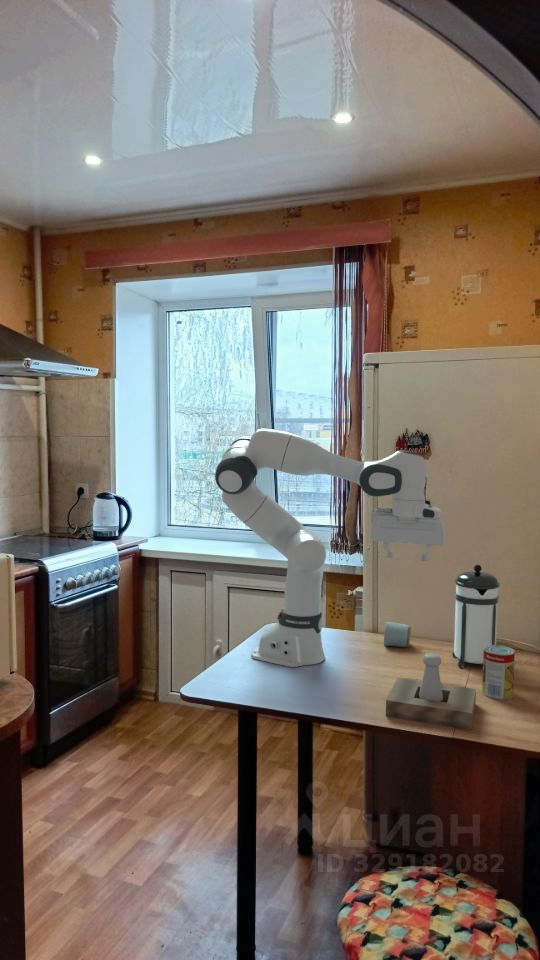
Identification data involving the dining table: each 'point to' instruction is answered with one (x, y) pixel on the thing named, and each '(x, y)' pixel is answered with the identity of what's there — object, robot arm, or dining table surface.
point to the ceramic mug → (397, 634)
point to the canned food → (498, 672)
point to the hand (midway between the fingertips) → (406, 559)
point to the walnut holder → (432, 704)
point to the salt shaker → (431, 679)
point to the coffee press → (475, 615)
